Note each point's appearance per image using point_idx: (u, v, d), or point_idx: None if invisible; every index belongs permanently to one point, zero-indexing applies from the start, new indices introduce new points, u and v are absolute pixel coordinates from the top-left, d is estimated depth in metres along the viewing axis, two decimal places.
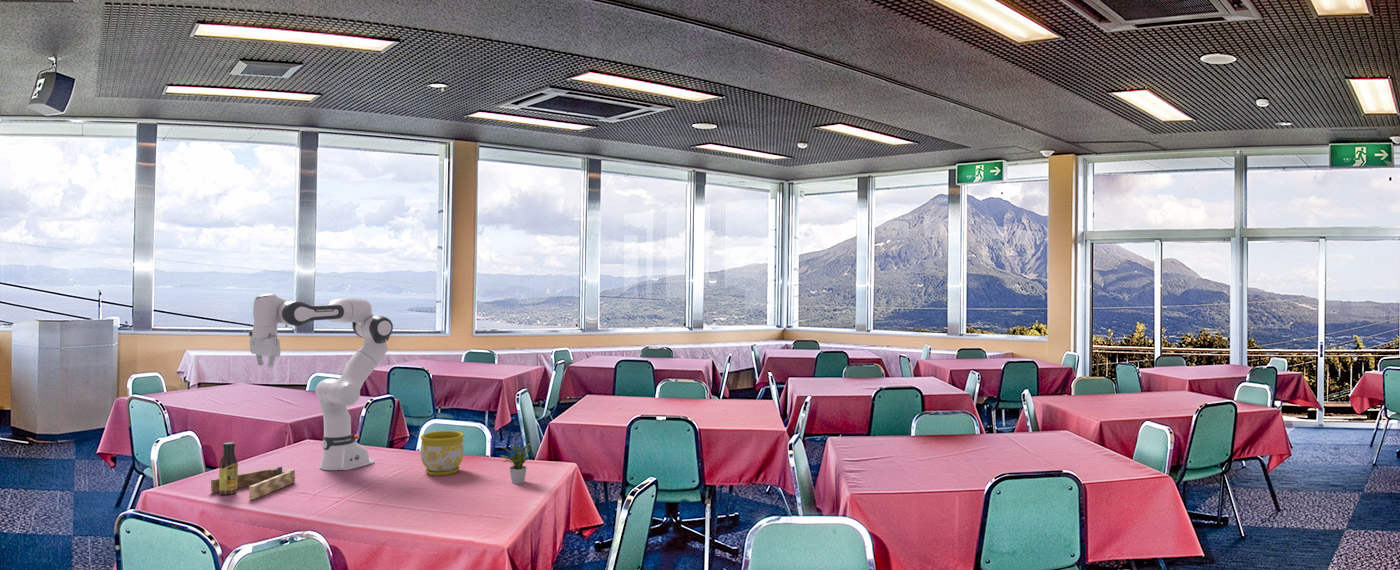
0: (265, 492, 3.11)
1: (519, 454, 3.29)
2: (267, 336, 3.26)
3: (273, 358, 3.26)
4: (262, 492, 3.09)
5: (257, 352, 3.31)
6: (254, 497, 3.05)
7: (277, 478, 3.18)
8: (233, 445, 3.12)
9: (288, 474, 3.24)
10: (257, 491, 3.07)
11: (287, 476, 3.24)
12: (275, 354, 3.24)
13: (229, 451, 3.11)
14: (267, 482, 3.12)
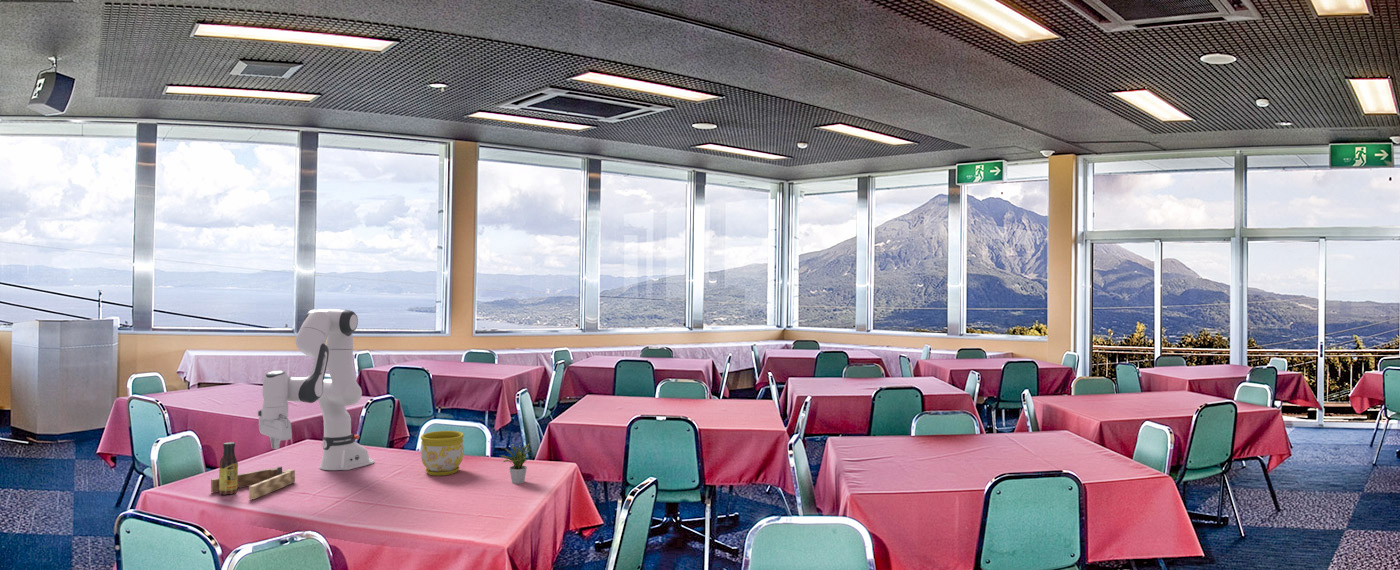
0: (265, 492, 3.11)
1: (519, 454, 3.29)
2: (277, 417, 3.05)
3: (279, 439, 3.08)
4: (262, 492, 3.09)
5: (267, 433, 3.09)
6: (254, 497, 3.05)
7: (277, 478, 3.18)
8: (233, 445, 3.12)
9: (288, 474, 3.24)
10: (257, 491, 3.07)
11: (287, 476, 3.24)
12: (286, 437, 3.02)
13: (229, 451, 3.11)
14: (267, 482, 3.12)
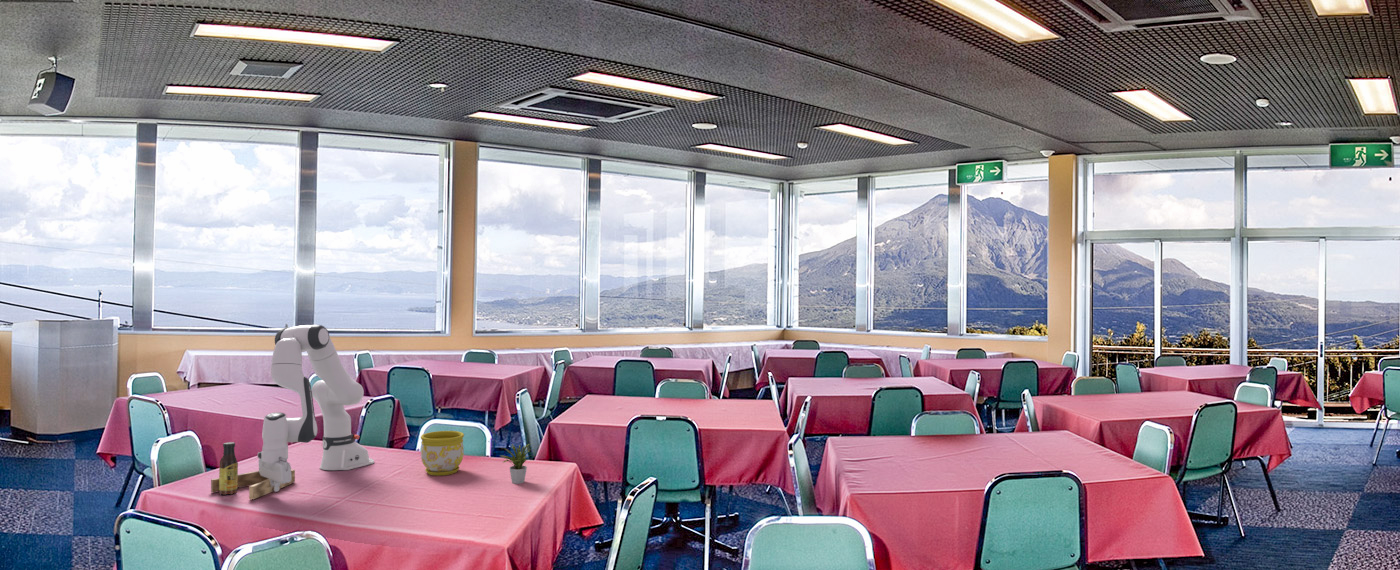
0: (265, 492, 3.11)
1: (519, 454, 3.29)
2: (277, 460, 3.06)
3: (279, 481, 3.08)
4: (262, 492, 3.09)
5: (266, 475, 3.10)
6: (254, 497, 3.05)
7: None
8: (233, 445, 3.12)
9: None
10: (257, 491, 3.07)
11: None
12: (286, 480, 3.03)
13: (229, 451, 3.11)
14: (267, 482, 3.12)
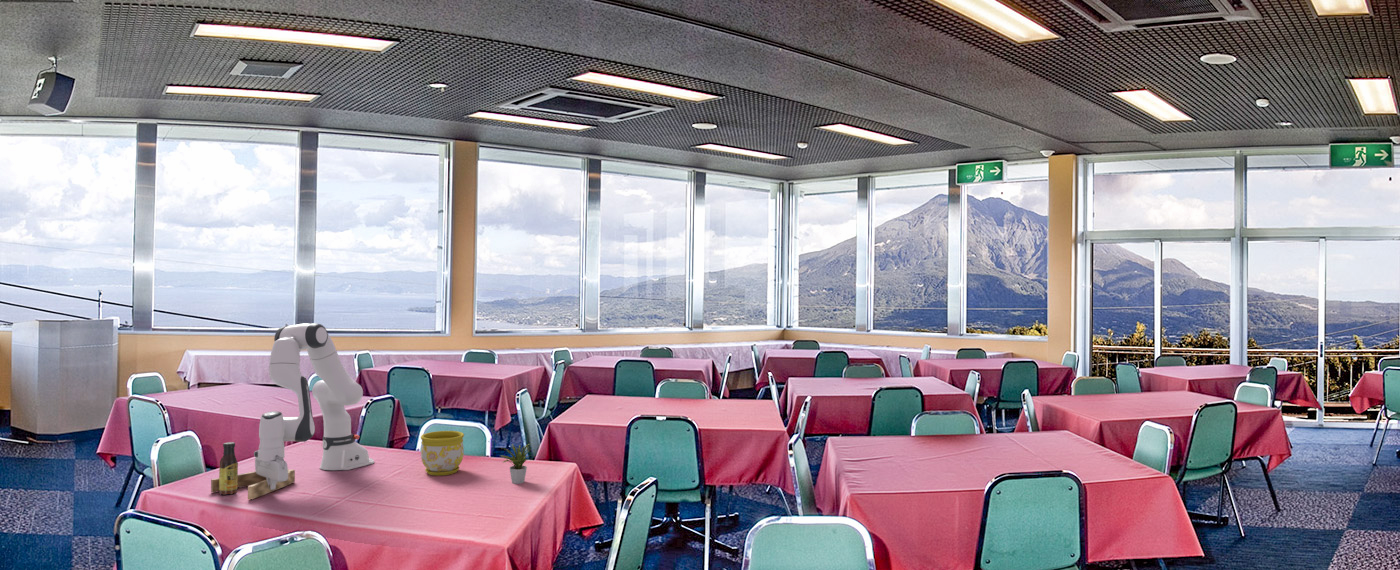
0: (264, 492, 3.10)
1: (519, 454, 3.29)
2: (274, 458, 3.08)
3: (275, 480, 3.10)
4: (261, 492, 3.09)
5: (263, 474, 3.12)
6: (253, 497, 3.05)
7: None
8: (233, 445, 3.12)
9: (288, 474, 3.24)
10: (256, 491, 3.07)
11: None
12: (282, 479, 3.05)
13: (229, 451, 3.11)
14: (266, 482, 3.12)
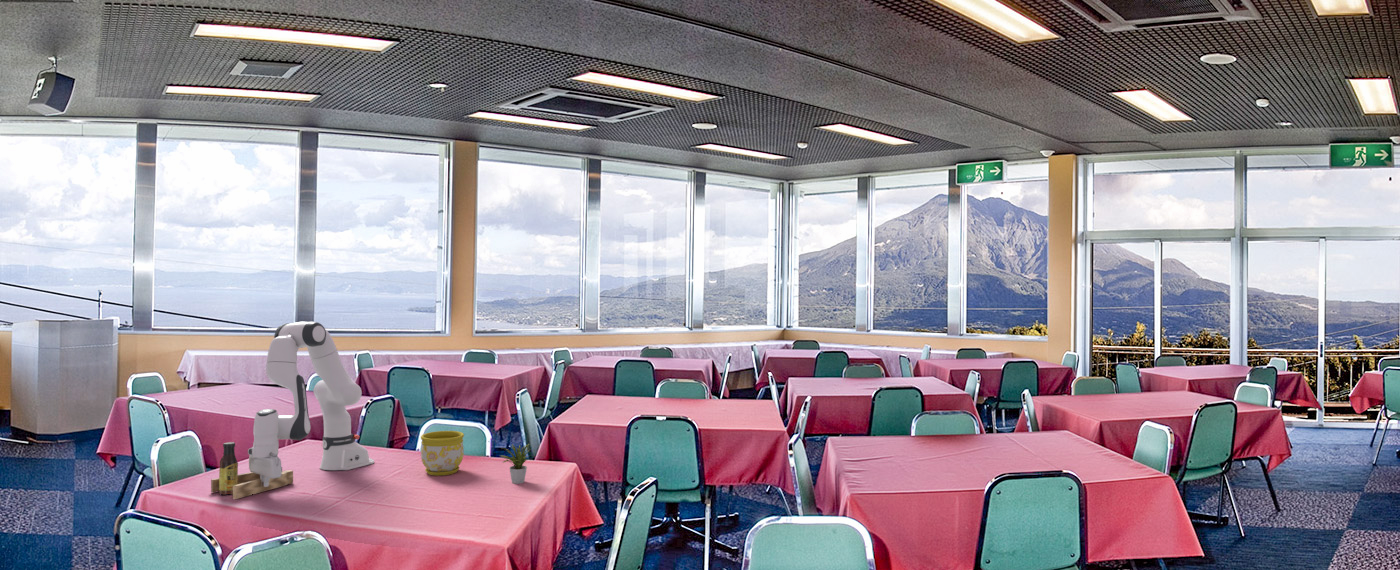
0: (251, 492, 3.10)
1: (519, 454, 3.29)
2: (268, 455, 3.10)
3: (268, 477, 3.12)
4: (248, 492, 3.09)
5: (257, 471, 3.14)
6: (237, 497, 3.05)
7: None
8: (233, 445, 3.12)
9: (283, 475, 3.23)
10: (242, 491, 3.07)
11: (282, 477, 3.22)
12: (276, 475, 3.07)
13: (229, 451, 3.11)
14: (255, 482, 3.11)
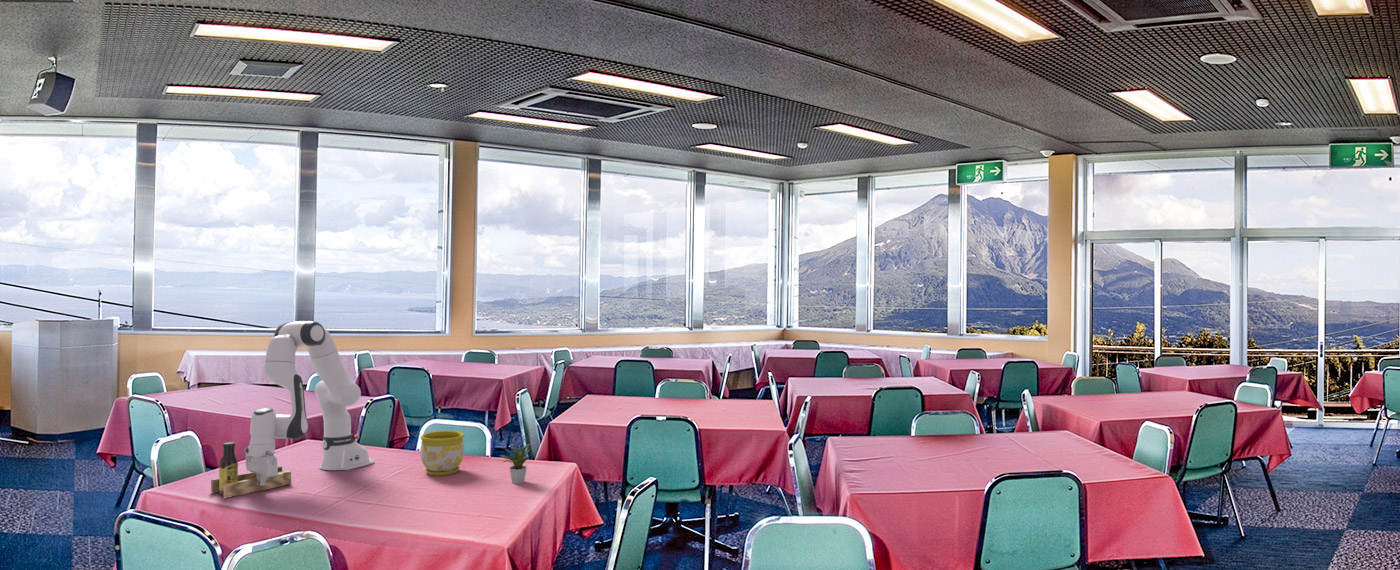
0: (243, 491, 3.11)
1: (519, 454, 3.29)
2: (264, 454, 3.12)
3: (264, 475, 3.14)
4: (239, 491, 3.10)
5: (253, 470, 3.15)
6: (227, 496, 3.06)
7: None
8: (233, 445, 3.12)
9: (279, 475, 3.22)
10: (232, 490, 3.08)
11: (278, 477, 3.22)
12: (272, 474, 3.08)
13: (229, 451, 3.11)
14: (247, 482, 3.12)
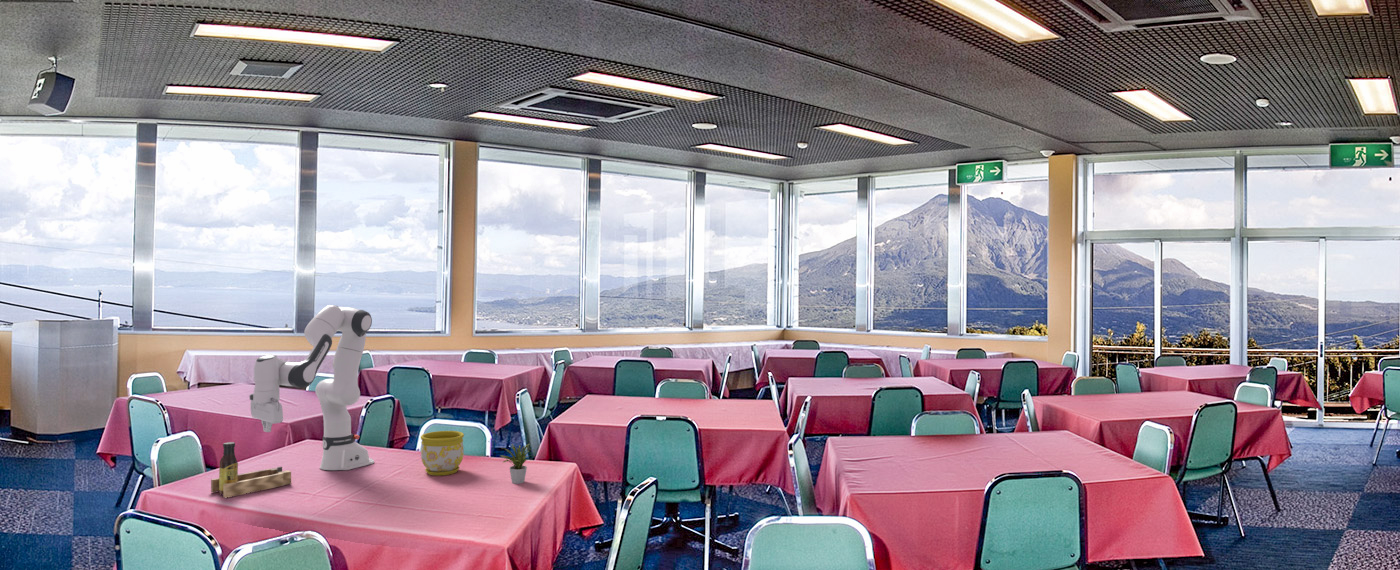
0: (243, 491, 3.11)
1: (519, 454, 3.29)
2: (269, 401, 3.10)
3: (270, 422, 3.13)
4: (239, 491, 3.10)
5: (258, 417, 3.14)
6: (227, 496, 3.06)
7: (262, 478, 3.17)
8: (233, 445, 3.12)
9: (279, 475, 3.22)
10: (232, 490, 3.08)
11: (278, 477, 3.22)
12: (277, 420, 3.08)
13: (229, 451, 3.11)
14: (247, 482, 3.12)
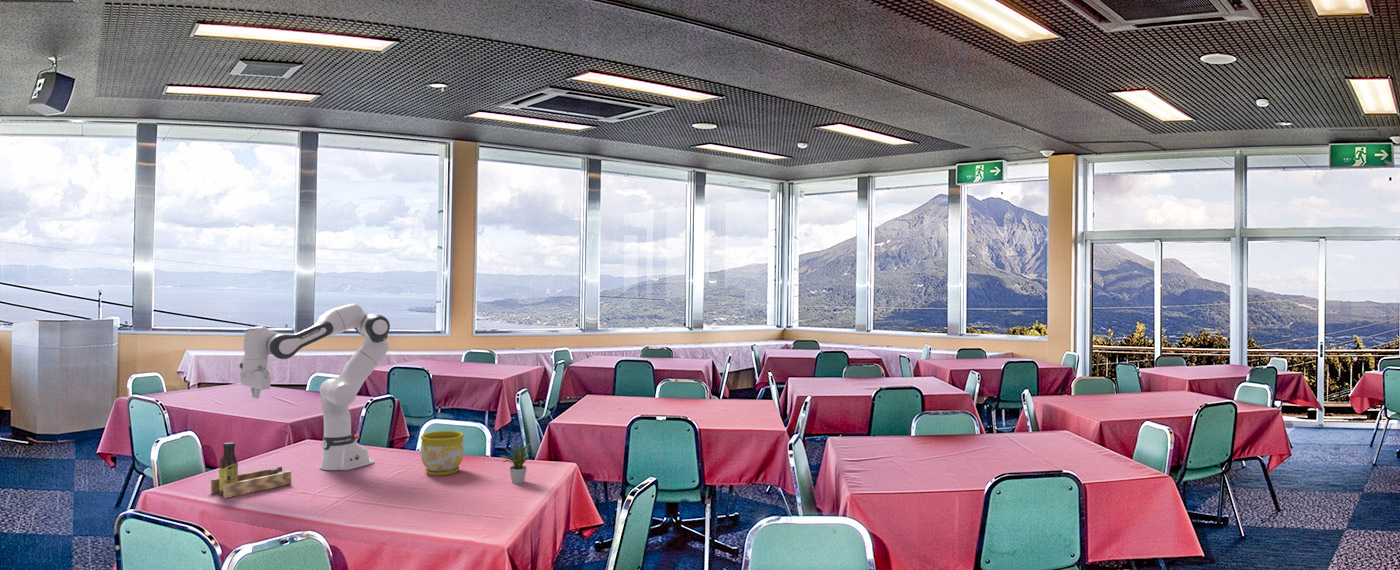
0: (243, 491, 3.11)
1: (519, 454, 3.29)
2: (257, 368, 3.29)
3: (259, 389, 3.32)
4: (239, 491, 3.10)
5: (247, 384, 3.34)
6: (227, 496, 3.06)
7: (262, 478, 3.17)
8: (233, 445, 3.12)
9: (279, 475, 3.22)
10: (232, 490, 3.08)
11: (278, 477, 3.22)
12: (265, 387, 3.27)
13: (229, 451, 3.11)
14: (247, 482, 3.12)
